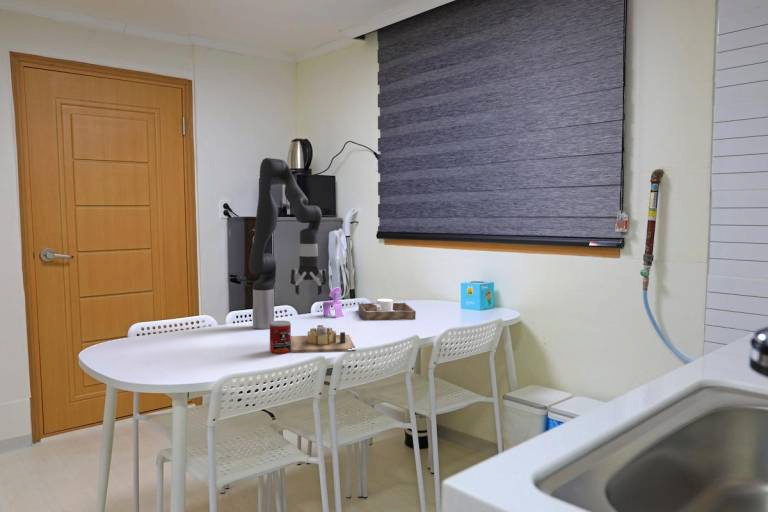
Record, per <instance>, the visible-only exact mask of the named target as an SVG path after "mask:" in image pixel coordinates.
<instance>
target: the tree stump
mask: <svg viewBox="0 0 768 512" xmlns="http://www.w3.org/2000/svg"><path fill="white" fill-rule="evenodd" d="M376 303H377V304H373V305H377V306H376V307H377V311H376V312H381V311H393V303H394V300H393V299H390V298H378V299H376Z"/></svg>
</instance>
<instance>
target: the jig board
mask: <svg viewBox="0 0 768 512" xmlns="http://www.w3.org/2000/svg"><path fill="white" fill-rule="evenodd" d="M327 328H328V327H325V326H323V327H318V328H317V327H316V330H317V334H318V335H324V334H327ZM352 348H356V347H355V344H354V342H353V340H352V337H351V336H350V334H346V332H345V331H342V332H340V333H339V334H336V343H332V344H326V345H318V344H316V345H315V344H310V343H308V335H291V349H290V353H293V354H295V353H324V352H325V353H326V352H327V353H328V352H329V353H330V352H332V353H333V352H346V351H345V350H348V349H352Z"/></svg>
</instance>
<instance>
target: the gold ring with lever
mask: <svg viewBox="0 0 768 512" xmlns="http://www.w3.org/2000/svg"><path fill="white" fill-rule="evenodd" d="M318 327H324V325H322V324H318V325H317V326H316V328H315V327H312V328H310V329H309V331H307V336H308V343H310V344H315V345H316V344H318V345H326V344H332V343H336V335H337V332H336V331H335V330H333V327H326V328H327V334H324V335H318V334H317V328H318Z"/></svg>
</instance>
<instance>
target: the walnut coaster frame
mask: <svg viewBox="0 0 768 512" xmlns="http://www.w3.org/2000/svg"><path fill="white" fill-rule="evenodd" d="M373 304H377V302H374V303H373V302H371V303H370V302H367V303H363V302H361V303H359V302H358V312H359V314H360V315H361V317H362V318H363V320H364V321H390V320H389V319H408V320H416V318H417V317H416V315H417V314H416V310H415V309H413V308H412V307H411V306H410V305H408V304H407V303H406V302H393V310H404V311H381V312H377V307H376V306H377V305H373Z"/></svg>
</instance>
